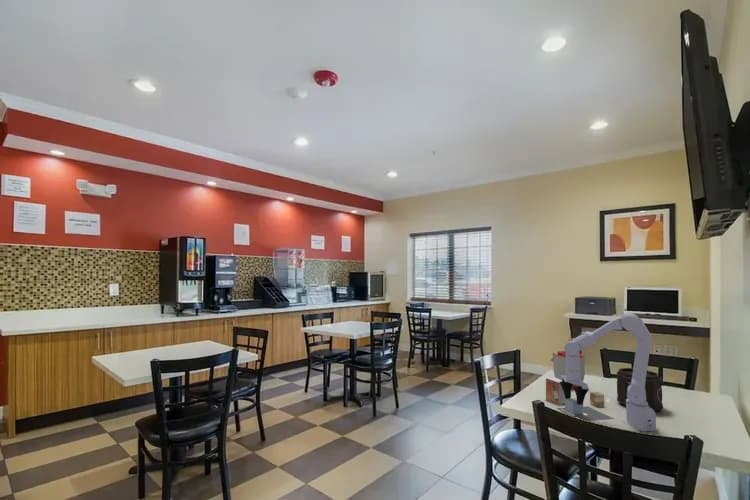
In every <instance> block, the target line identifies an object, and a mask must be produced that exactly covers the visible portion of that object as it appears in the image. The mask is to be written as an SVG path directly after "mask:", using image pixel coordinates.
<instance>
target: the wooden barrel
mask: <svg viewBox="0 0 750 500" xmlns="http://www.w3.org/2000/svg"><path fill="white" fill-rule="evenodd" d="M632 374H633V367H632V368H631V367H621V368H618V371H616V375H615V377H616V393H617V394H616V395H617V396H616V401H617V403H619V406H622V407H623V408H626V399H628V398H627V392H628V391H627V388H628V386H629V385H630V384H631V380H632ZM662 383H663V379H662V377H661V376H660V374H659V373H658V372H655V371H650V370H648V369H647V373H646V380H645V390H646V402H648V406H649V407H650V408H652V409H653V410H654V411H655V414H657V413H661V411H662V410H663V409H664V404H663V388H662Z"/></svg>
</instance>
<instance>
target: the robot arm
mask: <svg viewBox="0 0 750 500" xmlns="http://www.w3.org/2000/svg"><path fill="white" fill-rule="evenodd" d="M623 329H625V330H626V331H627V332H630V333H631V334H632V335H633V336H634V337H635V339H636V340H637V341H636V346H635V354H634V361H633V366H632V368H633V374H632V380H631V384H630V385H629V386H628V388H627V391H628V392H627V398H628V399H626V407H625V411H626V412H625V413H626V420H621V423H623V424H625V425H628V426H630V427H632V428H634V429H636V430H638V431H639V432H649V431H650V432H651V431H658V430H659V429H658V428H657V418H656V417H657V416H656V414H657V413H655V411H654V410H653V409H652V408H650V407H649V406H648V402H646V390H645V380H646V373H647V370H648V366H649V364H648V363H649V357H650V351H651V345H652V344H651V343H652V335H651V333H650V330H648V327H647V326H646V325H645V323H644V321H643V320H642V318H640V317H639V316H638V315H637V314H635V313H632V312H628V313H625V314H623V315H622V316H617V317H616V318H613V319H610V321H608V322H607V323H605V324H603V325H602V326H600V327H598V328H597V329H595V330H594V331H582V332H581V333H580V335H578V336H577V337H575V338H574V337H573V338H571V340H569V341H568V342H567V343H565V345H564V348H563V349H564V350H563V351H565V352H566V358H565V362H566V376H565V375H561V376H560V380H562V381H561V382H559V383H560V385H561V387H562V389H563V392H564V395H565V398H566V399H568V398H572V390H574V392H575V396H576V399H577V404H578V405H582V404H583V405H584V401H585V397H586V395H587V393H588V392H589V388H588V387H589V386H588V383H585V382H584V380H583V381H581V372H580V357H579V353H580V352H581V351H585V350H586V349H589V348H590V347H592V346H594V345H595V344H597V342H598V341H597V340H598V339H599V338H601V337H603V336H605V335H607V334H608V333H611V332H612V331H615V330H616V331H617V330H619V331H620V330H623ZM573 384H574V385H576V386H578V387H574V389H572V385H573Z"/></svg>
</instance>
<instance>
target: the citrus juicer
mask: <svg viewBox="0 0 750 500" xmlns="http://www.w3.org/2000/svg"><path fill="white" fill-rule="evenodd" d="M579 357H580V372H581V381H583V382H584V379H585V373H586V372H585V368H586V367H585V357H586V355H585V354H584V353H583V354H582V353H580V352H579ZM565 358H566V352H565V350H563V351H561V350H560V351H557V353H556V352H555V353H554V352H552V358H550V360H549V361H550V362H552V363H553V374H554V377H555V378H558V379H560V376H561V375H565V376H566V362H565ZM574 387H578V386H576V385H574V384H573V385H572V389H571V390H574Z"/></svg>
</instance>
